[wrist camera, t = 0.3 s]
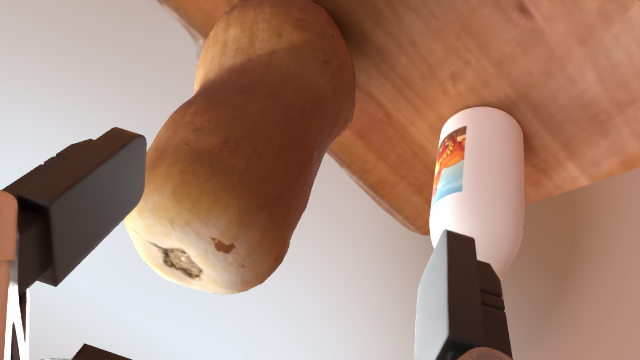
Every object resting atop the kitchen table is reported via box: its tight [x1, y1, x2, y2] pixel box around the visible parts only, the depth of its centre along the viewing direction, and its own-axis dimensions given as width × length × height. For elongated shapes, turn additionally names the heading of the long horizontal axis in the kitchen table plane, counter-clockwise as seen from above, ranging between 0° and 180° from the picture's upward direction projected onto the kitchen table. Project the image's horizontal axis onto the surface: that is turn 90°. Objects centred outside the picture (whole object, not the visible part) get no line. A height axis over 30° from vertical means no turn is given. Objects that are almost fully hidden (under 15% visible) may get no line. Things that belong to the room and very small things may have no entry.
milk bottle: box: [430, 107, 525, 299], centre depth 42 cm, size 8×8×20 cm
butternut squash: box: [124, 0, 355, 295], centre depth 38 cm, size 14×13×25 cm
